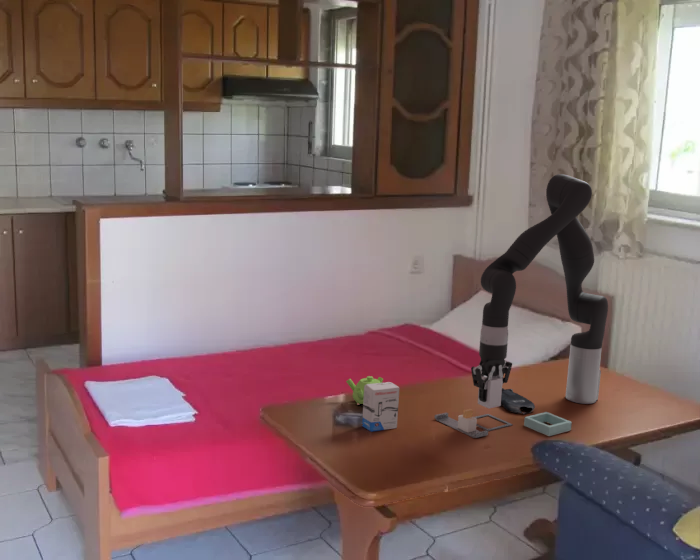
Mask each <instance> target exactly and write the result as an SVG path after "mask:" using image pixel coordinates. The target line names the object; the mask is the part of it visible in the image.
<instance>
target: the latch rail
mask: <svg viewBox="0 0 700 560" xmlns="http://www.w3.org/2000/svg"><path fill="white" fill-rule="evenodd" d="M434 419H435V420H436V421H437V422H439V423H442V424H443V425H445V426H448V427H450V428H452V429H454V430H456V431H458V432H461V433H463V434H465V435H467V436H468V437H470V438H472V439H475V438H481V437H482V438H483V437H486V436H488V435H489V431H486V430H482V431H480V430H478V429H476V431H472V432H466V431H463V430H461V429H459V428H458V420H456V419H454V418H452V417H450V416H449V412H447V411H446V412H443V413H438V414H434Z"/></svg>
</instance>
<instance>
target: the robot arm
mask: <svg viewBox="0 0 700 560" xmlns="http://www.w3.org/2000/svg"><path fill="white" fill-rule="evenodd" d="M545 191H546V194H545V195H546V201H547V205H548V208H549V211H550V214H551V215H549V216H547V217H546V218H545V219H544V220H541V221H540V222H538V223H536V224H534V225H532V226H530V227H529V228H526V229H525V230H524V231H523V232H522V233H521V234H520V235H519V236H518V237H517V238H516V239H515V240H514V241H513V243H512V244H511V245H510V246H509V247H508V249H507V250H506V251H505V252H504V253H502V255H500V256H499V257H497V258H496V259H495V260H494V261H493V262H491V263H490V264H489V265H488V266H487V267H486V268H485V269H484V270H483V272H482V274H481V277H480V286H481V287H482V288H483V290H484V291H486V292H488V293H490V294H491V299H490V301H489V302H487V303H485V304H484V305H483V309H482V320H481V329H480V335H479V337H480V338H479V348H478V349H479V351H478V355H479V357H480V361H479V363H478V365H477V366H471V368H470V371H471V376H472V377H471V378H472V383H473V386H474V387H476V388H478V391H479V400H480V401H482V402H486V401H487V387H488V382H489V381H490V380H491V379H492V377H493V376H496V377H498V378H503V381H502V386H503V385H504V384H506V383H508V382H509V378H510V374H511V371H512V366H513V362H511V361H508V360H506V358H507V356H508V344H509V343H508V341H509V318H510V317H509V316H510V315H509V314H510V309H511V307H512V304H513V301H514V297H515V295H516V291H517V281H516V278H515V275H513V274H514V273H515V272H519V271H524V270H526V269H527V267H528V266H529V265H530V264H531V263H532V262H533V260H535V258H536V257H537V256H538V254H539V253H540V252H541V251H542V249H543V248H544V247H545V246H547V244H548V243H549V242H551V240H552V239H553V238H554V237H557V241H558V246H559V247H558V248H559V254H560V255H559V256H560V259H561V264H562V269H563V273H564V281H565V287H566V289H565V290H566V297H567V298H566V300H567V310H568V311H567V312H568V316H569V319H571V320H572V321H574V322H577V323H581V324H585V325H589V328H588V329H589V330H587V331H584V332H583V331H582V332H577V333H576V332H575V333H573V334H572V335H571V338H570V346H569V357H568V367H567V379H566V386H565V387H566V389H565V399H566V400H568V401H570V402H573V403H577V404H583V405H585V404H586V405H588V404H589V405H590V404H594V403H596V402H597V401H598V400H599V393H600V385H601V375H602V370H601V356H602V348H603V341H604V336H605V331H606V324H607V319H608V318H607V317H608V312H609V302H608V299H607V297H606V296H604V295H600V294H594V293H587V292H584V290H583V288H582V286H583V285H582V284H583V282H584V280H585V279H586V277H587V276H588V275H589V273H590V272H591V270H592V268H593V267H594V264H595V255H594V253H595V252H594V247H593V243H592V240H591V238H590V236H589V234H588V232H587V231H586V229H585V228H584V226H583V225H582V223H581V222H580V219H578V216H579V215H580V214H581V213H582V212H584V210H585V209H586V208H587V207H588V205H589V203H591V199H592V196H593V189H592V187H591V185H590V184H589V183H588V182H586V181H584V180H582V179H579V178H576V177H574V176H571V175H567V174H563V173H558V174H555V175H553V176H552V177H550V179H549V181H548V183H547V185H546V189H545ZM484 375H485V376H487V378H486V377H484ZM483 380H485V382H484V384H483Z"/></svg>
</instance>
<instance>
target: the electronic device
mask: <svg viewBox="0 0 700 560" xmlns="http://www.w3.org/2000/svg"><path fill="white" fill-rule="evenodd" d="M501 406H502V407H504V409H505V410H507V411H509V412H511V413H514V414H523V415H525V414H526V412H525V411H526V408H529V410H531V411H529V412H528V414H530V413H532V412H533V411H534V410H535V408H536V406H535V403H534V402H532V400H530V399H528V398H526V397H524V396H523V395H520V394H518V393H517V392H515V391H513V389H512V388H506V389H505V388H504V387H502V395H501ZM525 407H526V408H525Z"/></svg>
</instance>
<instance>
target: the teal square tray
mask: <svg viewBox="0 0 700 560" xmlns="http://www.w3.org/2000/svg"><path fill="white" fill-rule="evenodd" d="M523 422H524V423H523V426H524V427H526V428H529V429H531V430H532V431H533V430H534V431H535V432H537V433H540V434H542V435H545V436H548V437H551V436H555V435H558V434H561V433H566V432H569V431H571V430H572V423H573V422H572V421H571V420H567V419H566V418H564V417H561V416H558V415H556V414H553V413H551V412H548V411H544V412H540V413H536V414H533V415H528V416H525V417H524V421H523ZM546 423H548V424H546ZM549 424H550V425H549Z"/></svg>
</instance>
